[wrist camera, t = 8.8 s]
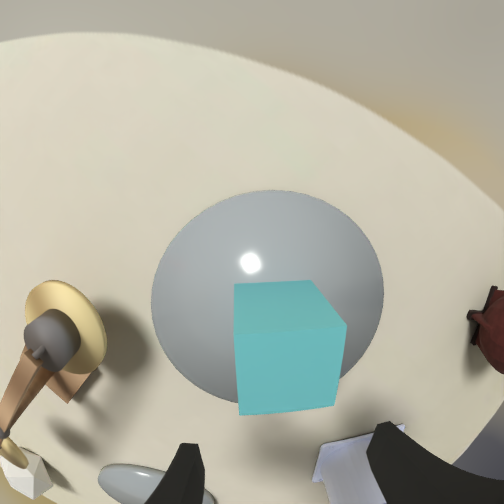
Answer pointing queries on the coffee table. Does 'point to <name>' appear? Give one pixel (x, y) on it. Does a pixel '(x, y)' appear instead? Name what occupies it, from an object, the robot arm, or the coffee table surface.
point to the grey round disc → (134, 483)
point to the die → (28, 475)
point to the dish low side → (259, 278)
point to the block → (286, 347)
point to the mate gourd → (491, 328)
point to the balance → (51, 354)
